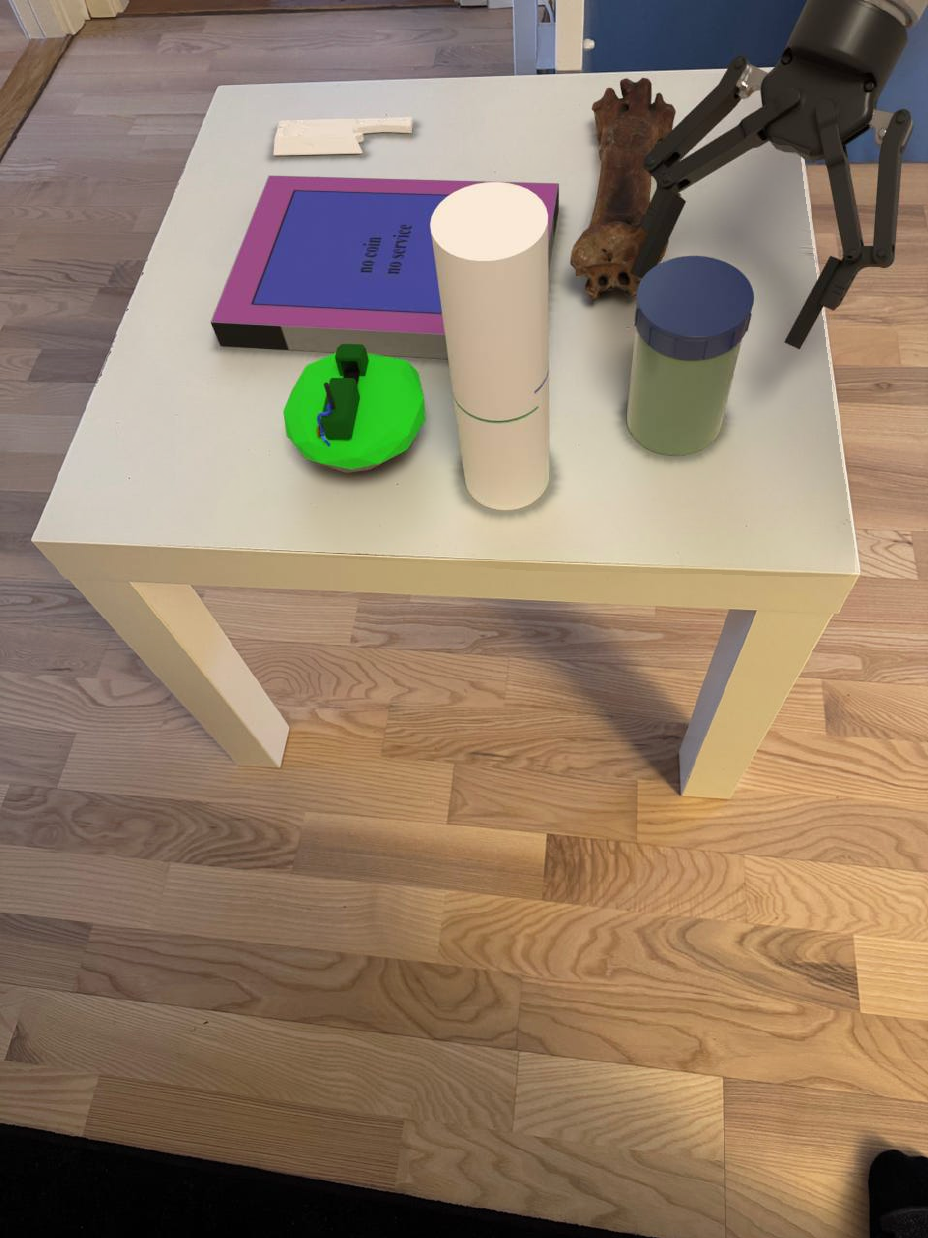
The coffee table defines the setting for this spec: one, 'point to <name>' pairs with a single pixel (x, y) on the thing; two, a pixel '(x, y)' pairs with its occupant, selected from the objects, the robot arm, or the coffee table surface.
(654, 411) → the jar
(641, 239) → the bone
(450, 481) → the coffee table surface
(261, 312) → the book
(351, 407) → the green rounded piece
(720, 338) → the jar lid
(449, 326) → the cylindrical container
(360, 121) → the butcher knife
